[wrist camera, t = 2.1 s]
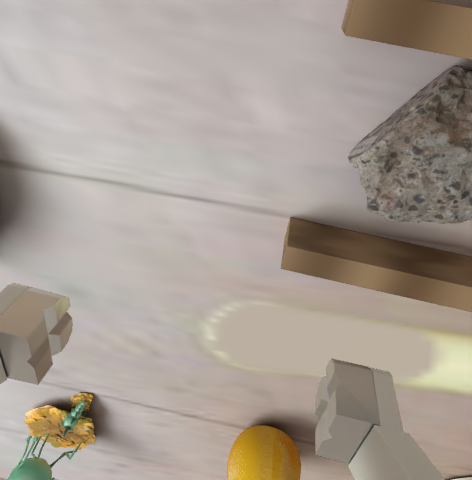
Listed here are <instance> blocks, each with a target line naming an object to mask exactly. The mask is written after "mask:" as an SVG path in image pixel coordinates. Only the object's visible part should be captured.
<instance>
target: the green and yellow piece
mask: <svg viewBox="0 0 472 480" xmlns="http://www.w3.org/2000/svg"><path fill="white" fill-rule="evenodd" d="M92 399H93V396H92V394H87V393H79V394H78V395H77V396H75V397H74V398H72V397H71V398H70V400H71V402H72V406H71V407H74V408H75V409H73V408H72V409H73V410H72V409H71V410H72V412H71V413H69V412H67V411H64V410H61V409H57V408H56V407H53V406H51V405H47V406H44V407H39V408H35V409H34V410H31V411H29V412H27V413H25V415H26V417H27V418H26V419H25V423H26V424H27V427H28V428H30V430H29V433H30V434H31V435H33V436H34V437H35V438H33V444H32V446H31V448H30V450H29V452H28V454H27V456H26V458H25V460H24V461H22V459H23V457H24V455H25V454H26V451H27V448H28V444H29V441H30V438H31V437H32V436H29V437H28V438H27V439H26V441H28V442H27V446H26V450H25V453H24V454H23V456H22V458H21V460H20V462H21V461H22V462H21V463H20V462H19V463H18V465H17V466H16V467H15V468H14V469H13V471H12V472H11V474H10V476H9V478H8V480H54V479H55V478H52V471H51V467H52V466H53V465H54V464H55V463H56V462H57V461H58V460H59V459H61V458H62V457H63V456H65V455H67V457H68V458H69V459H71V458H72V456H73V455H74V453H75V452H77V450H80V449H81V448H82V447H83V448H85V447H86V445H87V443H93V442H95V440H96V439H95V438H96V436H95V435H94V434H92V433H94V431H93V430H94V426H93V423H91V421H92V419H91V418H86V417H84V415H85V414H84V415H83V416H81V414H82V412H83V411H85V410H88V411H90V410H89V407H90V404H91V402H92ZM85 413H86V412H85ZM40 439H41V440H43V441H44V443H43V445H42V447H41V449H40V452H39V455H38V458H37V457H36V456H35V455H34V454H33V452H34V450H35V448H36V446H37V444H38V442H39V440H40ZM37 440H38V441H37ZM35 441H37V443H36V445H35V447H34V449H33V451H32V453H31V455H32V456H33V457H34V458H28V459H27V457H28V455H29V453H30V451H31V449H32V447H33V446H34V444H35ZM45 442H51V444H52V446H54V447H71V448H73V447H74V448H75V450H74V451H69V452H64V453H63V454H62V455H61V456H60V457H59V458H58V459H57V460H56V461H55V462H53V463H52V464H51V465H49V464H48V463H47V462H46V460H44V459H41V458H39V457H40V454H41V451H42V448H43V446H44V444H45ZM68 453H72V454H71V456H69V455H68Z"/></svg>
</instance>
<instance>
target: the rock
mask: <svg viewBox="0 0 472 480" xmlns="http://www.w3.org/2000/svg"><path fill="white" fill-rule="evenodd" d="M348 158H349V161H350V163H352V164H353V166H354V167H355V168H359V170H360V175H361V176H360V181H361V185H362V186H363V187H364V188H365V191H366V194H367V203H368V205H367V209H368V210H369V211H371V212H373V213H375V214H378V215H380V216H384V217H385V219H386V220H388V221H392V222H403V221H407V222H409V221H413V222H418V223H419V222H421V221H429V222H437V223H461V222H464V221H466V220H470V219H472V71H466V70H465V69H464V68H463V67H462V66H458V65H456V66H453V67H452V68H450V69H449V70H447V71H445V72H444V73H442V74H441V75H440V76H438V77H437V78H436V79H434V80H433V81H432V82H431V83H429V84H428V85H427V86H426V87H424V88H423V89H422V90H420V91H419V92H418V93H417V94H416V95H415V96H414V97H412V98H411V99H410V100H409V101H408V102H407V103H406V104H404V105H403V106H402V107H401V108H399V109H398V110H397V111H396V112H394V113H393V114H392V115H391V116H390V117H389V118H388V119H387V120H386V121H385V122H384V123H382V124H380V125H379V126H378V127H377V128H376V129H374V130H373V131H372V132H371V133H369V134H368V135H367V136H366V137H365V138H364V139H363V140H362V141H361V142H359V143H358V144H357V145H356V146H355V148H354V149H353V150H352V151H351V154H350V155H349V157H348Z"/></svg>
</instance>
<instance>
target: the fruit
mask: <svg viewBox="0 0 472 480" xmlns="http://www.w3.org/2000/svg"><path fill="white" fill-rule="evenodd" d="M300 473H301V462H300V456H299V452H298V449H297V447H296V445H295V443H294V442H293V440H292V439H291V438H290V437H289V436H288V435H287V434H286V433H284V432H283V431H281V430H279V429H277V428H274V427H270V426H264V425H259V426H253V427H250V428H248V429H246V430H244V431H243V432H242V433H241V434H240V435H239V436H238V438H237V439H236V441H235V442H234V444H233V446H232V449H231V452H230V455H229V459H228V465H227V478H228V480H300Z"/></svg>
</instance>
